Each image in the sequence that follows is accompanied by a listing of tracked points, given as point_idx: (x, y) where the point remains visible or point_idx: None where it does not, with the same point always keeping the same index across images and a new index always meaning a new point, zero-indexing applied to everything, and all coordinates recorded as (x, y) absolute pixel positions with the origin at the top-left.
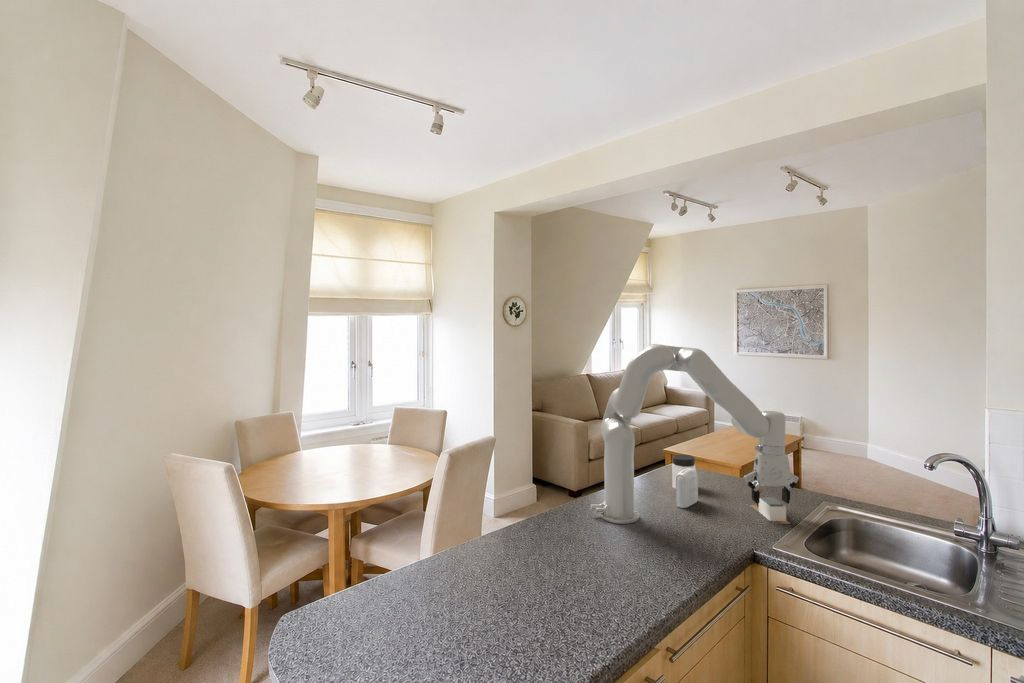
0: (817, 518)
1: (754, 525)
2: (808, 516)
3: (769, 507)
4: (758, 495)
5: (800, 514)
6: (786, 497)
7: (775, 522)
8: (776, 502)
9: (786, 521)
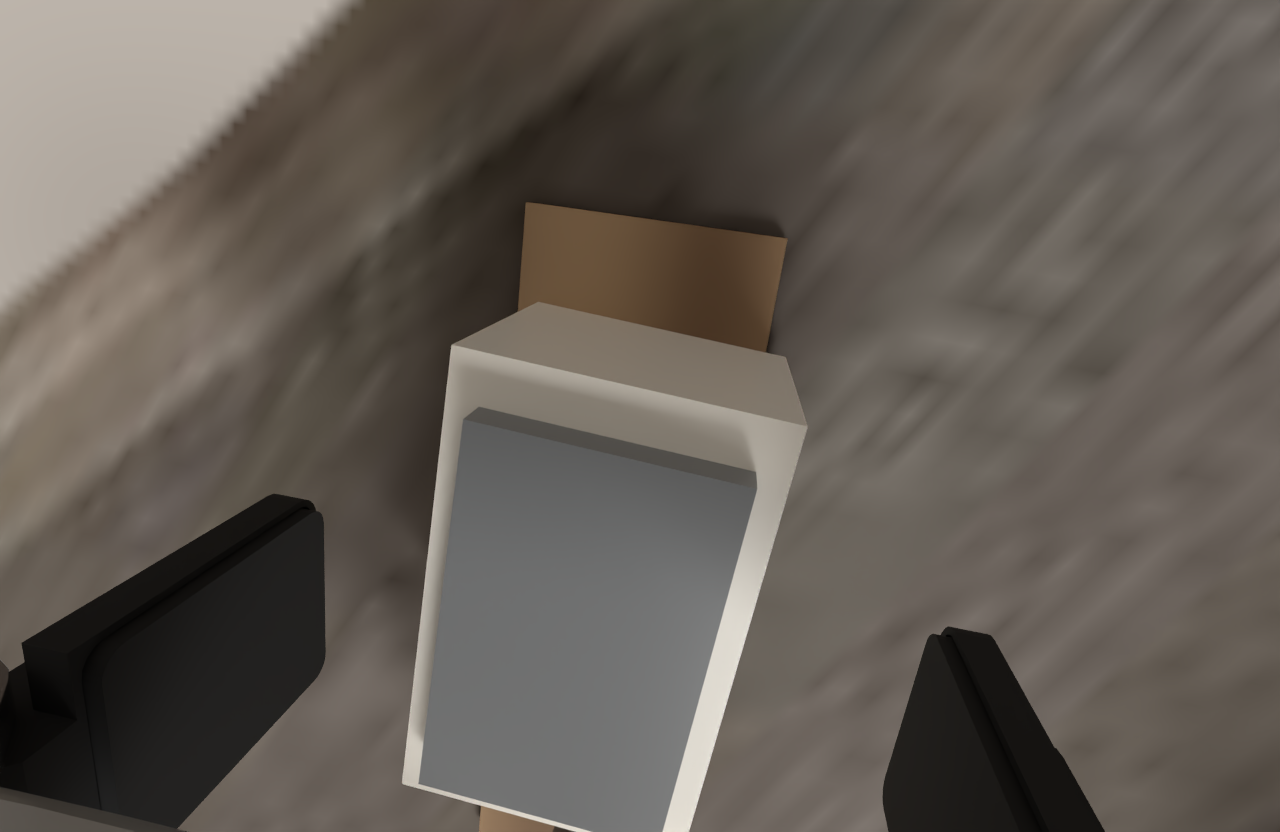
0: (52, 328)
1: (1144, 282)
2: (132, 412)
3: (798, 442)
4: (1042, 771)
5: (198, 492)
6: (240, 584)
7: (740, 286)
8: (536, 555)
9: (544, 287)
